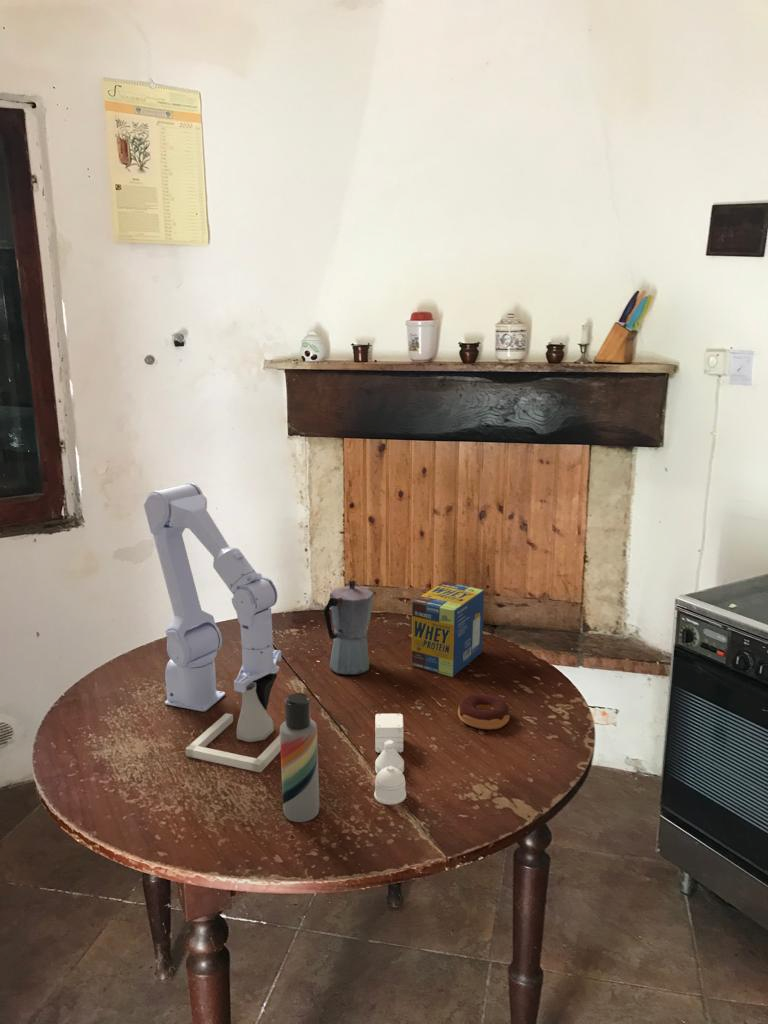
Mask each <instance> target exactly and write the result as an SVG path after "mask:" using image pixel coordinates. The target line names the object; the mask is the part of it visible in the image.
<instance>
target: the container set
mask: <svg viewBox="0 0 768 1024" xmlns="http://www.w3.org/2000/svg"><path fill="white" fill-rule="evenodd" d="M374 719H375V720H374V722H375V723H374V724H375V725H374V726H375V727H374V728H375V729H374V730H375V731H374V734H375V735H374V736H375V737H374V738H375V744H374V745H375V746H374V748H375V749H374V751H375V752H377V753H378V754H379V753H380V754H379V755H378V757H377V758H376V759H375V762H374V765H375V766H374V769H375V772H376V777H375V779H374V780H375V781H374V785H375V788H374V792H373V795H374V798H375V800H376V801H377V802H379V803H380V804H384V805H397V804H400V803H402V802H403V801H404V800H405V799H406V798H407V790H406V779H405V778H406V777H405V775H404V774H403V773H404V771H405V760H404V759H403V757H402V756H401V755H400V754H399V753H402V752H404V716H403V714H401V713H376V714H375V718H374Z"/></svg>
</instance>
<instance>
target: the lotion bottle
mask: <svg viewBox="0 0 768 1024" xmlns="http://www.w3.org/2000/svg"><path fill="white" fill-rule="evenodd" d="M284 709H285V710H284V711H285V721H283V722H282V723H281V724H280V727H279V735H280V747H281V751H280V765H281V766H280V767H281V768H280V769H281V770H280V771H281V786H282V788H281V789H282V793H281V795H282V810H283V815H284V817H285V818H286V819H287V820H289V821H291V822H295V823H305V822H308V821H312V820H313V819H315V818H316V817H317V816H318V815H319V811H320V788H319V787H320V784H319V783H320V782H319V780H320V779H319V776H320V775H319V748H318V747H319V746H318V744H319V743H318V726H317V723H316V722H315V721H314V720H313V719H312V718H311V699H310V697H309V696H308V695H306V694H304V693H301V692H295V693H290V694H289V695H287V696H286V699H285V700H284Z"/></svg>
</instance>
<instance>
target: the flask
mask: <svg viewBox="0 0 768 1024" xmlns="http://www.w3.org/2000/svg"><path fill="white" fill-rule="evenodd" d="M240 693H241V697H242V698H241V701H242V702H241V703H242V704H241V706H240V707H241V708H240V712H239V717H238V721H237V724H236V729H235V730H236V739H237V740H241V741H243V742H247V743H254V742H258V741H264V740H266V739H267V738H268V737H269V736H270V735H271V734H272V733H273V732H274V730H275V728H274V721H273V719H272V718H271V717H272V716H270V715H269V713H268V712H267V710H265V709H264V707H263V705H262V704H261V702H260V701H259V699H258V696H257V693H256V682H252V683H250V684H249V685H248V686H247V687H246V691H245V692H244V693H243V692H240Z"/></svg>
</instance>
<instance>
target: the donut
mask: <svg viewBox="0 0 768 1024" xmlns="http://www.w3.org/2000/svg"><path fill="white" fill-rule="evenodd" d="M509 710H510V709H509V706H508V704H507V702H506V701H505V700H504V699H503V698H500V697H498V696H495V695H490V694H486V693H485V694H484V693H472V694H469V695H468V694H467V695H466V696H464V697H463V698H461V700H459V703H458V709H457V715H458V718H459V720H460V721H461V722H462V723H464V724H465V725H467V726H469V727H473V728H475V729H480V730H487V731H489V730H490V731H493V729H494V730H498V729H501V728H502V727H504V726H506V724H508V723H509V721H510V711H509Z"/></svg>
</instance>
